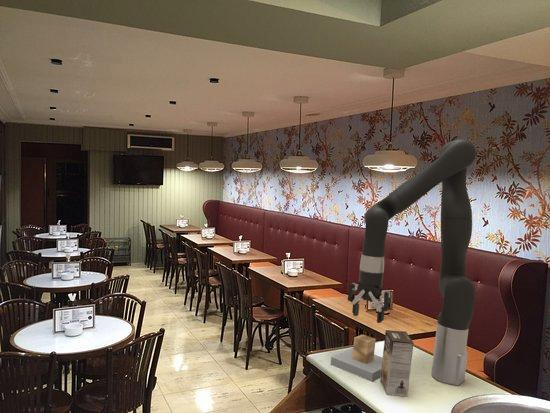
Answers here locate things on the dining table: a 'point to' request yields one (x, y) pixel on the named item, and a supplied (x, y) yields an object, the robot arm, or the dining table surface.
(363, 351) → the oak block
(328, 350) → the dining table surface
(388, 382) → the coffee box
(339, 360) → the slate base
